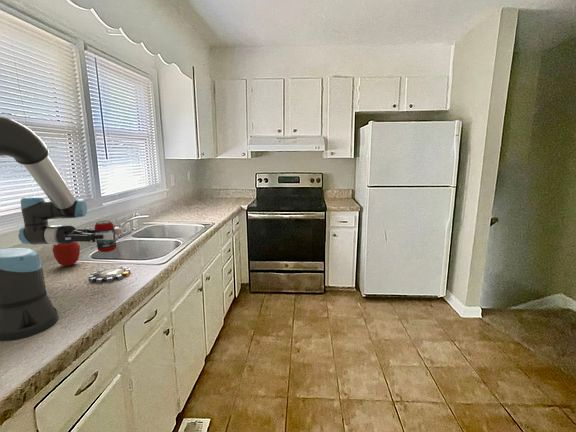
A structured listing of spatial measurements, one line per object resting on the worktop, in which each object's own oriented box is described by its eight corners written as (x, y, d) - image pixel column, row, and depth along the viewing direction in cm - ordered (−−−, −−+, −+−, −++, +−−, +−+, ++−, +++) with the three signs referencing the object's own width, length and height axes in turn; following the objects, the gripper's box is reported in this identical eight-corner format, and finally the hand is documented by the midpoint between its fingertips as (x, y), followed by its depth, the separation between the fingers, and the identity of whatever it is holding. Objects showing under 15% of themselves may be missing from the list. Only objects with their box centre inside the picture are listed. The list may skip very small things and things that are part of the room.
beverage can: (97, 254, 126) (93, 224, 124) (98, 249, 132) (94, 221, 129) (117, 251, 129) (113, 222, 127) (116, 247, 135) (112, 219, 133)
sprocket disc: (80, 283, 126) (79, 279, 126) (103, 269, 141) (102, 266, 141) (118, 283, 126) (117, 279, 125) (136, 269, 140) (136, 265, 140)
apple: (56, 270, 141) (51, 240, 139) (54, 265, 149) (49, 236, 146) (84, 265, 148) (79, 236, 145) (80, 260, 155) (75, 232, 153)
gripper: (79, 237, 140) (130, 236, 139) (44, 250, 121) (104, 249, 120) (76, 220, 138) (128, 219, 138) (41, 231, 119) (101, 230, 119)
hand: (117, 233), depth 129 cm, fingers closed on beverage can, 7 cm apart
